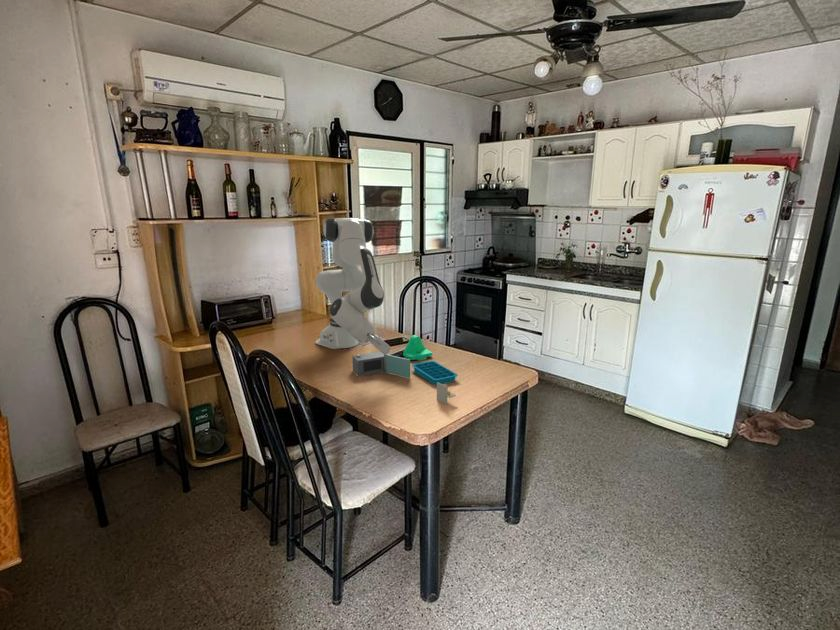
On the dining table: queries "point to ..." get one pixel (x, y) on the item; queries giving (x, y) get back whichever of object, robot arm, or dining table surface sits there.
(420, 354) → the camera mount
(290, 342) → the dining table surface
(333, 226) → the robot arm
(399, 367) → the side door
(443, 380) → the ice cube tray
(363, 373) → the action camera
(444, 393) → the architectural model
